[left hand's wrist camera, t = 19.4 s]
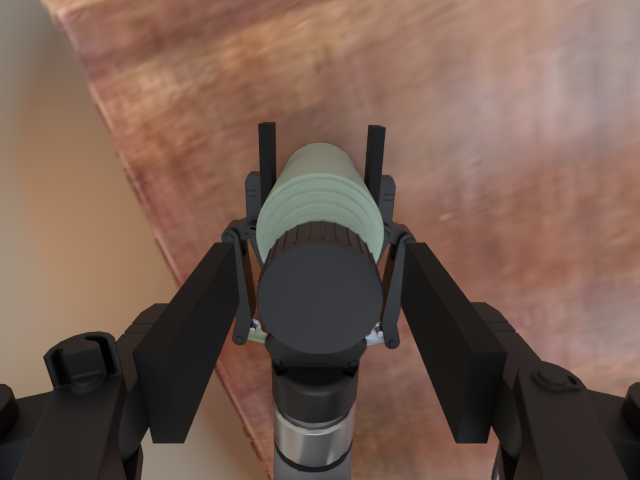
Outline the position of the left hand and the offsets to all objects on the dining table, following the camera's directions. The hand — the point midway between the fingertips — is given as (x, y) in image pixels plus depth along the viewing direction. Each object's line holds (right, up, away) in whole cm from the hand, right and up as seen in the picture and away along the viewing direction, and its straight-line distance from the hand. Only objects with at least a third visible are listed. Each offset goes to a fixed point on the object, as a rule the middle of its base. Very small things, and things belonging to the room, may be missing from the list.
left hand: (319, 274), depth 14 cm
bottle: (0, +7, +17) cm, 19 cm away
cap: (0, -1, -2) cm, 2 cm away
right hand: (0, +9, +10) cm, 13 cm away
